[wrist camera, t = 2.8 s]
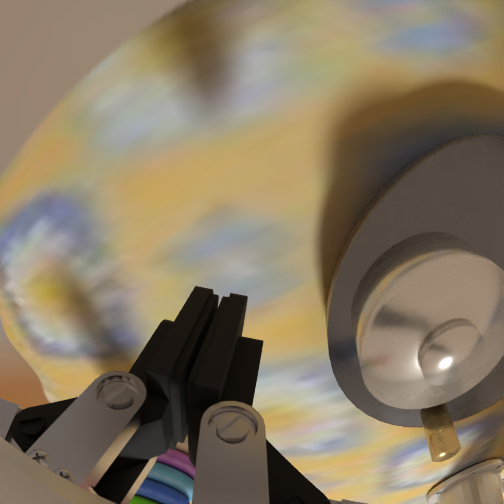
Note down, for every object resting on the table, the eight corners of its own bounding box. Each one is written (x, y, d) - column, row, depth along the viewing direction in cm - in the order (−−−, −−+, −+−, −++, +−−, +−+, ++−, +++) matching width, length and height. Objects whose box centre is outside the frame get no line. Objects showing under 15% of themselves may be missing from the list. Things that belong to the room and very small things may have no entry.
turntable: (595, 195, 10) (641, 217, 5) (498, 408, 18) (518, 451, 13) (371, 82, 12) (411, 54, 7) (291, 403, 19) (285, 469, 14)
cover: (504, 249, 12) (550, 285, 8) (449, 368, 15) (472, 418, 11) (377, 215, 13) (408, 250, 9) (332, 357, 16) (336, 417, 12)
